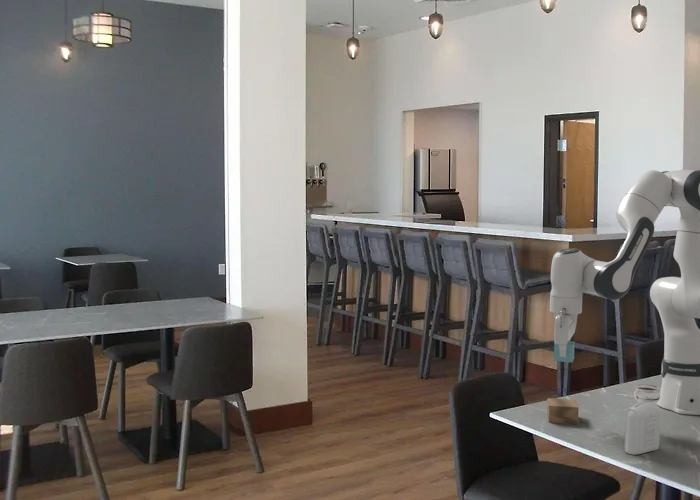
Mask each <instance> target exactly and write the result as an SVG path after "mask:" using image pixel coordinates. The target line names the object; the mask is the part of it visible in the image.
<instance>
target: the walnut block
mask: <svg viewBox="0 0 700 500" xmlns="http://www.w3.org/2000/svg"><path fill="white" fill-rule="evenodd" d="M546 400H547V404H546V405H547V406H546V414H547V421H548V423H551V424H552V423H553V424H555V423H556V424H569V425H579V404H578V403H577V399H567V398H566V399H564V398H550V397H548V398H547V399H546Z"/></svg>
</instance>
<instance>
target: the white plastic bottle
mask: <svg viewBox="0 0 700 500" xmlns="http://www.w3.org/2000/svg"><path fill="white" fill-rule="evenodd" d="M661 414H662V413H661V407H660V406H659V405H657V403H656V404H654V403H651V402H641V403H638V402H637V403H636V404H633V405H632V406H630V407H629V408H628V409H627V410H626V412H625V423H624V424H625V427H624V451H625V452H626V453H627V454H630V455H632V456H635V455H641V454H644V453H648V452H652V451H657V450H658V449H659V448H660V433H661Z"/></svg>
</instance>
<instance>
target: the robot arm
mask: <svg viewBox="0 0 700 500" xmlns="http://www.w3.org/2000/svg"><path fill="white" fill-rule="evenodd" d="M665 207H672V208H678V209H679V214H680V217H679V220H678V221H679V222H678V225H677V229H676V230H677V231H676V237H675V243H674V249H673V258H674V260H675V261H676V263H677V264H678V266H679V269H680V277H679V276H665V277H660V278H657V279H656V280H655V281H654V282H653V283H652V284H651V286H650V290H649V296H650V297H649V298H650V300H651V303H653V305H654V306H655V308H656V309H657V311H658V313H659V317H660V319H661V323H662V328H663V336H664V337H663V338H664V340H663V341H664V348H663V349H664V350H663V352H664V353H663V358H662V361H661V373H660V374H661V377H662V378H661V386H660V390H659V393H660V399H659V401H658V402H657V403H656V404H657V405H658V406H659V408H663V409H666V410H670V411H672V412H675V413H678V414H681V415H695V416H700V328H699V327H698V325H697V323H696V320H695V319H700V169H698V170H695V169H694V170H693V169H678V170H671V171H667V170H665V171H659V170H648V171H646V172H644V173H643V174H642V175H640V177H639V178H638V179H637V180H635V182H634V183H633V184H632V186H630V188H629V189H628V190H627V192H626V193H625V195H624V196H623V197H622V199H621V200H620V201H619V203H618V206H617V207H616V212H615V215H616V220H617V223H618V224H619V226H620V227H621V228H622V229H623V230H624V231H625V232H627V235H626V238H625V240H624V242H623V243H622V246H621V248H620V250H619V252H618V253H617V256H616V257H615V258H613V260H611V261H608V262H607V261H602V260H596V259H595V258H592V257H590V256H588V255H586V254H585V253H583V252H582V251H581V249H579V248H564V249H563V248H562V249H560V250H557V251H556V252H555V253H554V254H553V257H552V260H551V266H550V283H551V290H550V293H549V295H550V296H549V312H550V313H553V318H555V321H554V330H553V331H554V332H553V333H554V334H553V340H554V341H553V342H554V343H556V344H559V350H560V353H559V355H560V357H566V355H567V350H566V349H567V343H568V342H569V341H571V339H572V337H573V336H574V334H575V332H576V328H577V323H578V315H580V314H582V313H583V293H587V294H591V295H594V296H600V297H603V298H605V299H607V300H610V301H612V300H613V301H616V300H620V299H621V298H623V297H624V296H625V295H627V294H628V292H629V291H630V290H631V286H632V284H633V281H634V275H635V273H636V270H637V269H638V266H639V264H640V263H641V261H642V259H643V258H644V255H645V254H646V251H647V249H648V247H649V245H650V243H651V241H652V238H653V236H654V233H655V223H656V221H657V219H658V218H659V216H660V214H661V213H662V211H663V209H664V208H665Z"/></svg>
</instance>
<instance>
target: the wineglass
mask: <svg viewBox="0 0 700 500" xmlns="http://www.w3.org/2000/svg"><path fill="white" fill-rule="evenodd" d="M633 387H634V389H635V390H634V392H633V398H634V400H636V402H637V404H638V403H641V402H651V403H654V404H657V402H658V401H659V399H660V389H661V387H659V386H658V385H654V384H653V385H652V384H645V383H641V384H639V383H638V384H635V385H634V386H633Z"/></svg>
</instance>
